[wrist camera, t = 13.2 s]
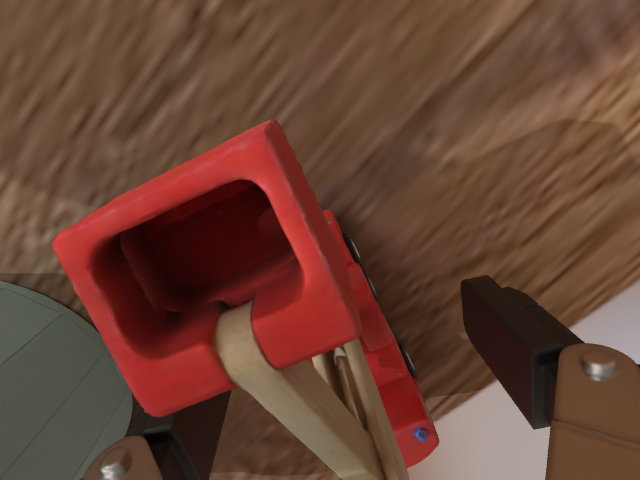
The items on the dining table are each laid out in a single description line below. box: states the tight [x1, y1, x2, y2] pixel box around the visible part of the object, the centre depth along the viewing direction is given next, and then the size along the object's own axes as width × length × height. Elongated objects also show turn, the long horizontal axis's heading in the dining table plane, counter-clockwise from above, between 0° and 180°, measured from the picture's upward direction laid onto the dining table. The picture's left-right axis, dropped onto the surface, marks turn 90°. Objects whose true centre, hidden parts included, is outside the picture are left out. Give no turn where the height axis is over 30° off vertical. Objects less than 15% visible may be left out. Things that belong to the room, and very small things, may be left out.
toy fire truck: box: [52, 119, 439, 480], centre depth 11 cm, size 3×14×10 cm, turn 26°
